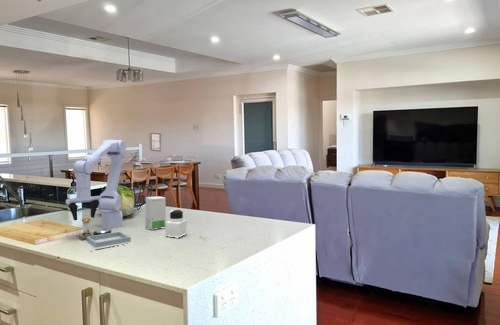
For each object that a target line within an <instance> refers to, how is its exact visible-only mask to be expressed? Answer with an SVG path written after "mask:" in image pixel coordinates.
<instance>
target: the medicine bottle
mask: <svg viewBox="0 0 500 325" xmlns="http://www.w3.org/2000/svg"><path fill="white" fill-rule="evenodd" d="M183 214H184V211H182V210H181V209H172V210H170V211H169V217H168V218H169V220H167V221H165V236H166V235H170V236H180V235H182V234H184V233H186V234H187V219H184V218H183V217H184V215H183Z"/></svg>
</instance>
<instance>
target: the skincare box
mask: <svg viewBox="0 0 500 325" xmlns="http://www.w3.org/2000/svg"><path fill="white" fill-rule="evenodd" d="M166 201H167V199H166V197H164V196H160V195H159V196H146V197H145V221H144V222H145V225H144V226H145V227H146V228H145V229H147V228H149V229H155V228H161V227H165V228H166V219H167V218H166ZM149 229H148V230H149Z"/></svg>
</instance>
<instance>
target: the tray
mask: <svg viewBox="0 0 500 325" xmlns="http://www.w3.org/2000/svg"><path fill="white" fill-rule="evenodd" d="M115 237H120V238H115ZM110 238H111V239H110ZM112 238H115V239H112ZM131 238H132V237H131V236H130V235H127V234H126V233H124V232H122V231H115V232H111V233H107V234H101V235H95V236H88V237H87V240H86V242H88V243H89V244H90V245H91V246H93V247H95V249H94V251H99V250H100V251H101V250H105V249H110V248H111V247H112V248H116V247H115V246H117V247H120V246H119V245H120V244H121V245H123V246H125V245H124V244H126V243H131V242H132V240H131ZM104 239H105V240H104ZM106 239H109V240H106ZM97 240H98V241H97ZM99 240H103V241H99Z"/></svg>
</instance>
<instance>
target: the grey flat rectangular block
mask: <svg viewBox="0 0 500 325" xmlns="http://www.w3.org/2000/svg"><path fill="white" fill-rule="evenodd" d="M107 233H112V230H111V229H104V228H97V229H96V230H94V231H93V232H91V231H89V235H84V236H83V232H82V233H78V235H75V237H76V239H78V240H79V241H81V242H83V241H87V237H88V236H95V235H101V234H107Z"/></svg>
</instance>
